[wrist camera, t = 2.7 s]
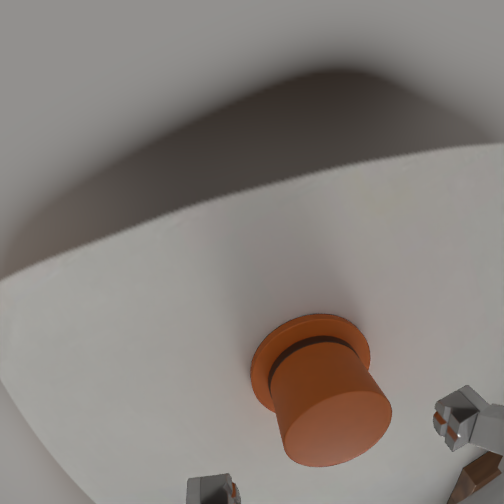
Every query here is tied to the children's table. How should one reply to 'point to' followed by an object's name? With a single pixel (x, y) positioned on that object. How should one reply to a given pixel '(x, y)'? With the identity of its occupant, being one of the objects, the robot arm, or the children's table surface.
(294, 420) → the hat
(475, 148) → the children's table surface
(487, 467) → the stand
